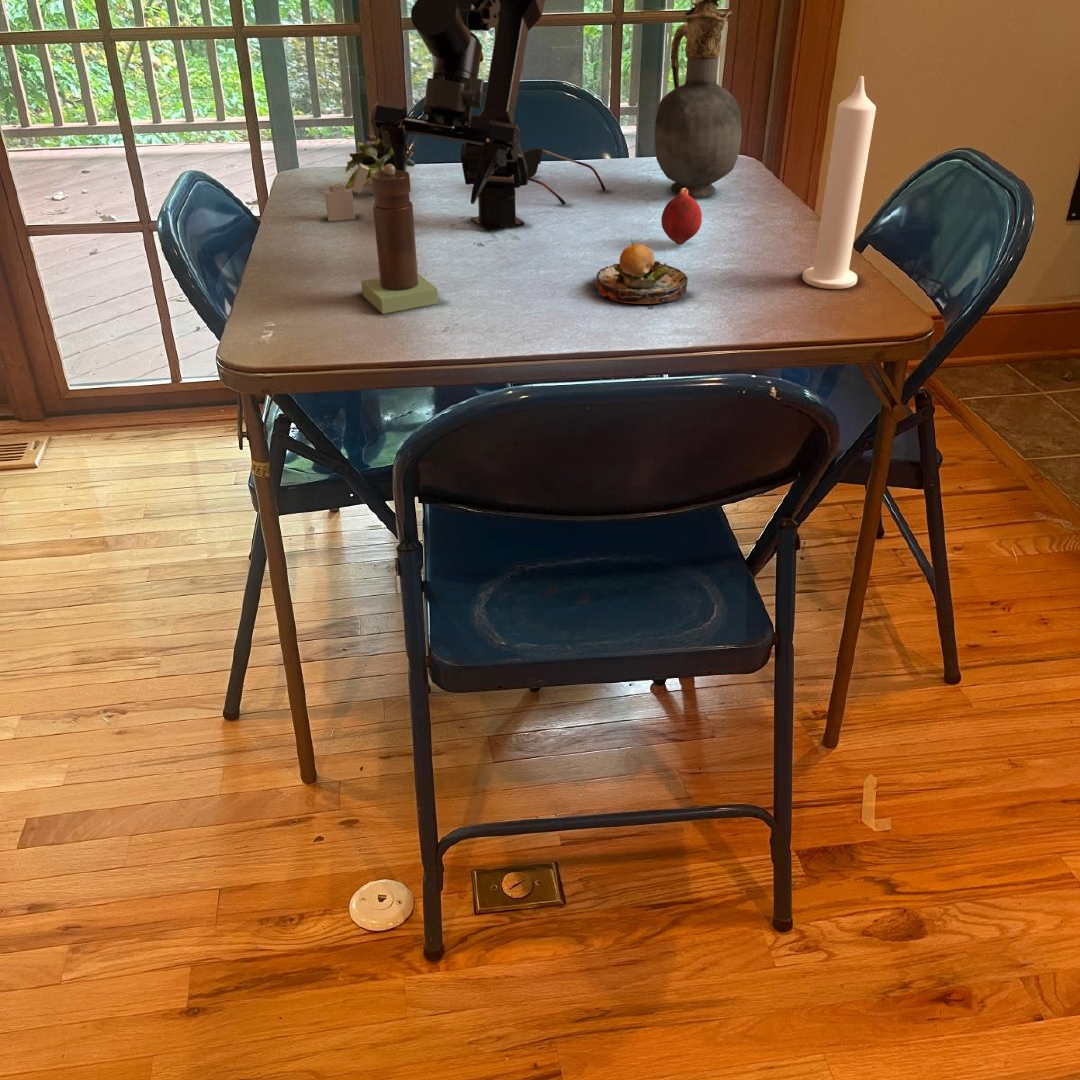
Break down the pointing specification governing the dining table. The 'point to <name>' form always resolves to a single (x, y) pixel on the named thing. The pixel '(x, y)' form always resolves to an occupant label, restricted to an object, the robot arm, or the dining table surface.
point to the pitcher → (698, 109)
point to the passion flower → (374, 158)
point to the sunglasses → (535, 158)
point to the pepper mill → (394, 229)
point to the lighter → (344, 197)
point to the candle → (843, 192)
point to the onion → (681, 218)
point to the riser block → (399, 295)
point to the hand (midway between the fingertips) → (436, 197)
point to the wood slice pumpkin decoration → (641, 278)
